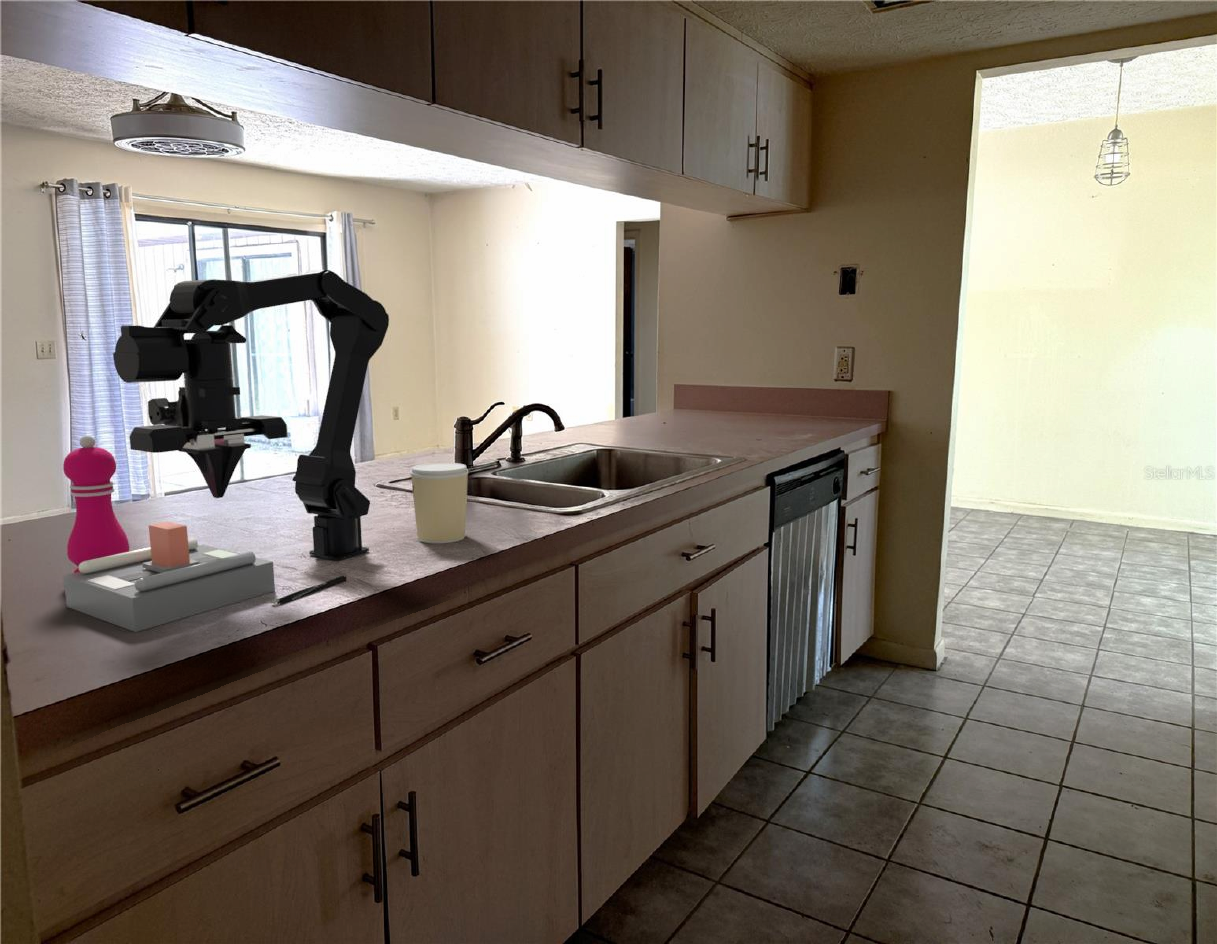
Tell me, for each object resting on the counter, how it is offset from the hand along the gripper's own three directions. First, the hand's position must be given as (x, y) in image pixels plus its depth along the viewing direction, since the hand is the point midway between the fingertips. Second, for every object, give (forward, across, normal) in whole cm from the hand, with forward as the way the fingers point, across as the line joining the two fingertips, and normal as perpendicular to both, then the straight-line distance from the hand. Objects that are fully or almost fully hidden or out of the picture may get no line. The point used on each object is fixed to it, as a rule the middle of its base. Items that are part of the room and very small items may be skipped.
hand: (218, 497), depth 108 cm
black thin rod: (+12, -4, +12) cm, 18 cm away
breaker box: (+12, +7, 0) cm, 14 cm away
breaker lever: (+8, +7, 0) cm, 10 cm away
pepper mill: (+12, +8, -16) cm, 22 cm away
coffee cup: (+12, -35, +6) cm, 38 cm away
